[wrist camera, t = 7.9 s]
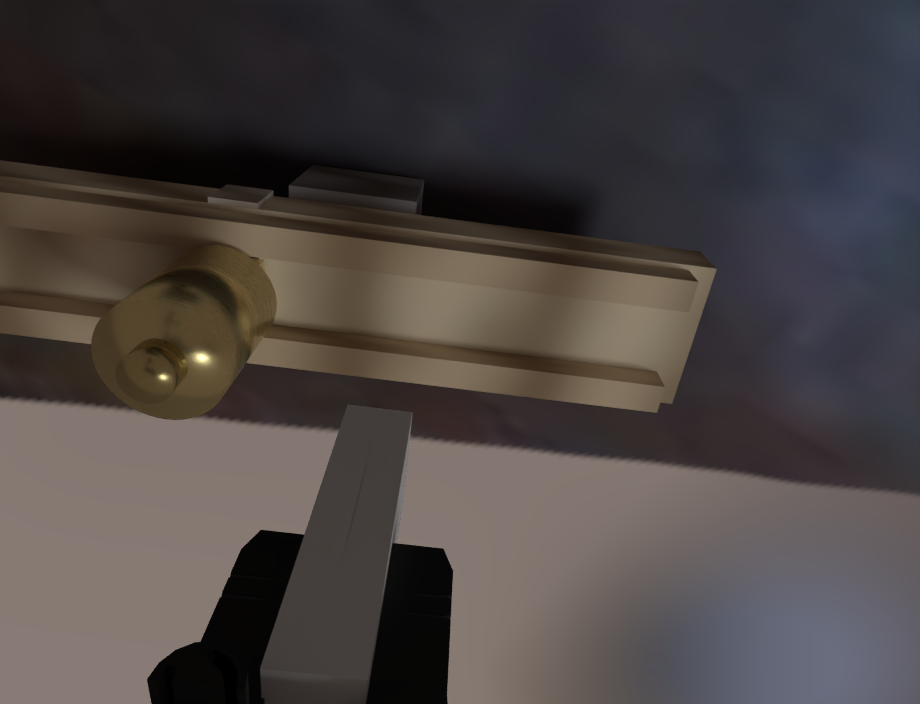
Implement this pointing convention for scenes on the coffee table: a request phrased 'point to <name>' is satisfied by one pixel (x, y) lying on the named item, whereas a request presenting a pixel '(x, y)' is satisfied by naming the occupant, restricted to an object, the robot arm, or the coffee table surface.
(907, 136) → the coffee table surface
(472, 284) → the stand
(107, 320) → the rider
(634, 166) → the coffee table surface
